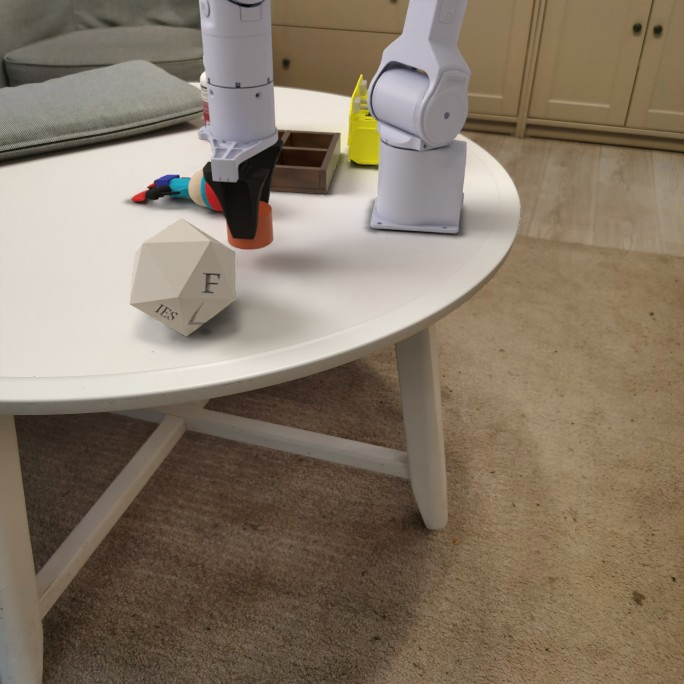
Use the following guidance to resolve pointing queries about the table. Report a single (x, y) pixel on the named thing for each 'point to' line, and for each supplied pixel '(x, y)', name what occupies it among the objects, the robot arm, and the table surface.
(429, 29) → the robot arm
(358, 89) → the yellow toy chassis
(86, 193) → the table surface
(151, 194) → the toy figure
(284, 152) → the grid
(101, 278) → the table surface
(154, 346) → the table surface
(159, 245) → the die
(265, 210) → the orange short cylinder
